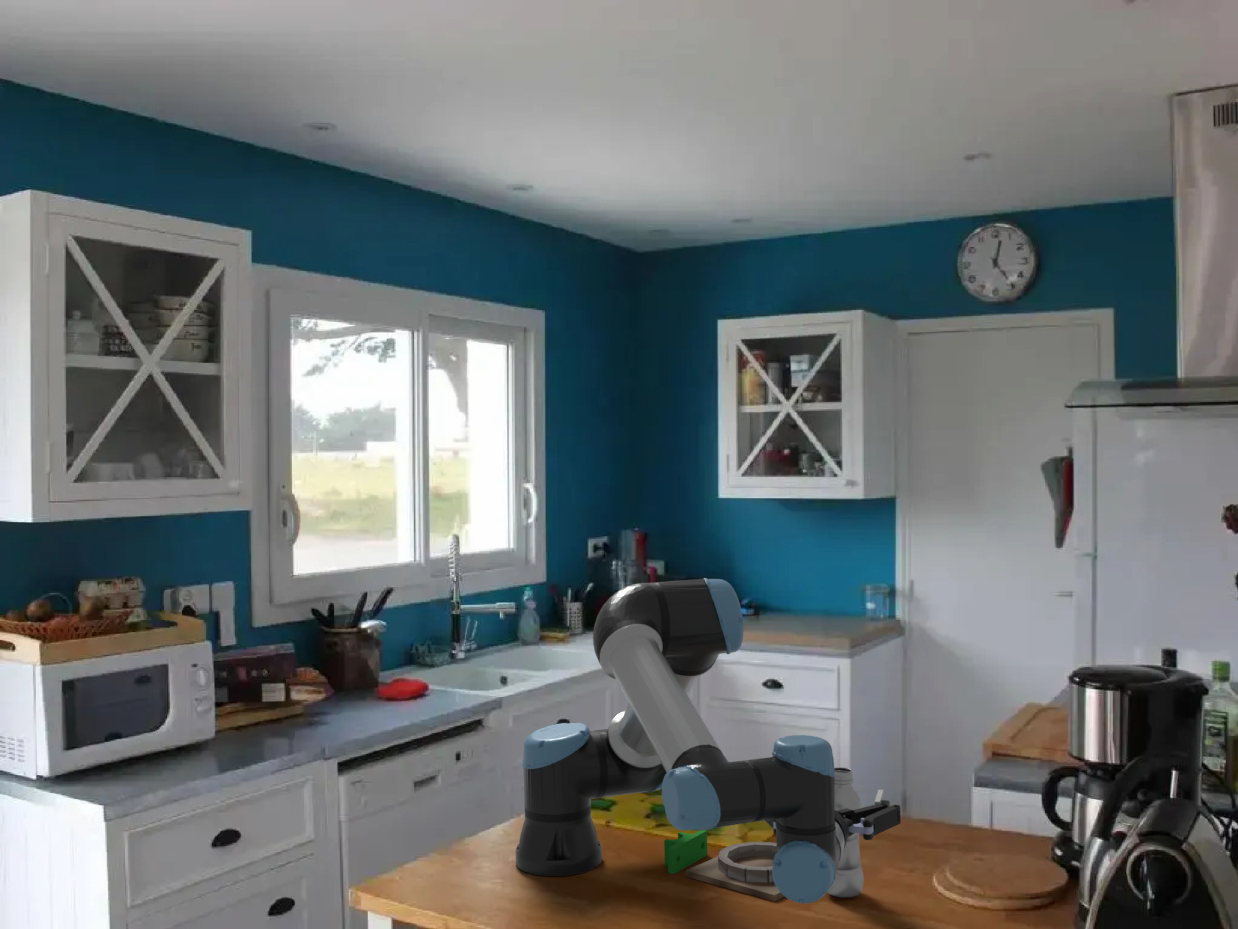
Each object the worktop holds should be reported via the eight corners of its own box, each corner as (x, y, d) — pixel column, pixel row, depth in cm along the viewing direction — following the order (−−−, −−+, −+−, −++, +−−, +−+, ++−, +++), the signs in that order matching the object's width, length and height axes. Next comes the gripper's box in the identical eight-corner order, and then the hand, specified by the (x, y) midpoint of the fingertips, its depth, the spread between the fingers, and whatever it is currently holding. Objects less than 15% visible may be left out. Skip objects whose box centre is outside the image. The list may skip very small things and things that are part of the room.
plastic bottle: (869, 891, 194) (867, 767, 194) (855, 905, 188) (852, 778, 188) (831, 885, 197) (829, 763, 197) (816, 898, 192) (813, 773, 191)
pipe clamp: (689, 853, 215) (689, 827, 215) (707, 856, 213) (707, 830, 213) (655, 871, 206) (654, 844, 206) (673, 875, 204) (673, 848, 204)
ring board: (685, 876, 203) (685, 858, 203) (748, 848, 216) (748, 831, 216) (774, 901, 191) (774, 882, 191) (835, 870, 204) (835, 852, 204)
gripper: (726, 860, 166) (754, 816, 186) (912, 873, 159) (920, 826, 179) (725, 806, 166) (753, 767, 186) (911, 816, 159) (919, 775, 179)
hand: (835, 796), depth 183 cm, fingers open, 13 cm apart
